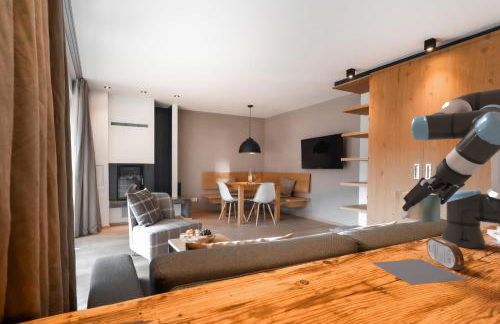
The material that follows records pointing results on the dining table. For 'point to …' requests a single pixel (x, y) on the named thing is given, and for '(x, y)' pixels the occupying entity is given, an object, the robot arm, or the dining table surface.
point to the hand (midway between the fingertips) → (409, 215)
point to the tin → (445, 253)
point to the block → (419, 207)
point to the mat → (418, 271)
